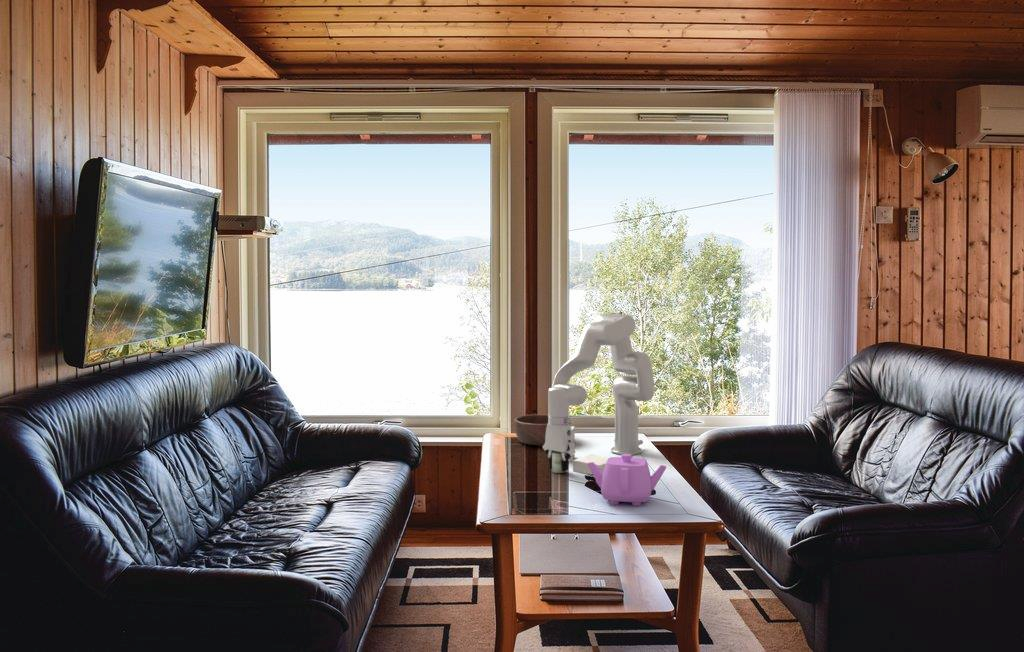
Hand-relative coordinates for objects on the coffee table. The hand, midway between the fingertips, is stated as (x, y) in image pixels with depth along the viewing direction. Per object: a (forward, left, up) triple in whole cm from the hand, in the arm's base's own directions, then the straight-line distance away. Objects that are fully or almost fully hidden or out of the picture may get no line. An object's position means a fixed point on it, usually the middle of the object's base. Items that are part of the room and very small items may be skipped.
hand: (558, 468), depth 277 cm
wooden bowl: (-37, -38, -2) cm, 53 cm away
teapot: (+14, +39, -2) cm, 42 cm away
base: (-11, +9, -1) cm, 14 cm away
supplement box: (-18, -11, -2) cm, 21 cm away
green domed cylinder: (0, 0, -1) cm, 1 cm away
